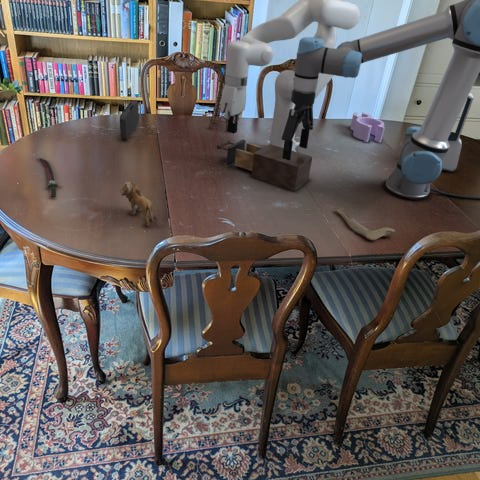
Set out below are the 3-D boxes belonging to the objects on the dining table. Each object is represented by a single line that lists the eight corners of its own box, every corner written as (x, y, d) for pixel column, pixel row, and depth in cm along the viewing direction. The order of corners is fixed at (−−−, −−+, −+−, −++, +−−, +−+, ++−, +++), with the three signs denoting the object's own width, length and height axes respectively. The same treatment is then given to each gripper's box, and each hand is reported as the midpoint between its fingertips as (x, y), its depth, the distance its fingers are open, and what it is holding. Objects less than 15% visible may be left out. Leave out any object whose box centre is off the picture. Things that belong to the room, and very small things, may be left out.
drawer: (213, 160, 172) (214, 142, 169) (228, 152, 180) (229, 135, 177) (264, 177, 164) (266, 159, 160) (277, 168, 172) (280, 150, 168)
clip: (343, 126, 223) (346, 112, 219) (367, 127, 225) (371, 113, 221) (360, 142, 206) (364, 127, 202) (386, 142, 209) (390, 127, 205)
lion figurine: (118, 210, 138) (116, 182, 133) (132, 204, 141) (131, 177, 137) (151, 229, 130) (150, 201, 126) (165, 223, 134) (165, 195, 129)
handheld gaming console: (132, 121, 201) (132, 98, 196) (139, 122, 202) (138, 99, 196) (119, 140, 182) (118, 115, 177) (126, 141, 182) (125, 116, 177)
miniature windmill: (227, 131, 202) (232, 59, 186) (208, 128, 203) (212, 56, 187) (231, 125, 210) (237, 55, 193) (213, 122, 211) (217, 52, 194)
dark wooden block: (251, 176, 166) (253, 153, 161) (266, 166, 175) (269, 143, 170) (294, 191, 159) (298, 167, 155) (308, 180, 168) (312, 156, 163)
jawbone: (381, 248, 134) (382, 242, 133) (320, 221, 145) (321, 216, 143) (394, 234, 140) (396, 229, 139) (335, 210, 150) (336, 204, 149)
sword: (61, 197, 141) (61, 193, 140) (50, 198, 139) (50, 194, 139) (49, 160, 164) (48, 156, 163) (39, 160, 163) (39, 157, 162)
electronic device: (453, 166, 192) (481, 93, 175) (454, 173, 186) (482, 98, 169) (422, 160, 194) (446, 87, 178) (422, 167, 188) (447, 92, 172)
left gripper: (238, 74, 166) (233, 124, 176) (215, 82, 155) (211, 134, 165) (256, 79, 163) (250, 129, 173) (234, 86, 152) (229, 140, 162)
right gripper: (308, 81, 159) (300, 140, 170) (275, 95, 140) (268, 161, 152) (329, 85, 156) (318, 145, 167) (298, 101, 137) (289, 167, 149)
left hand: (231, 132), depth 169 cm, fingers closed
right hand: (294, 153), depth 160 cm, fingers open, 13 cm apart
